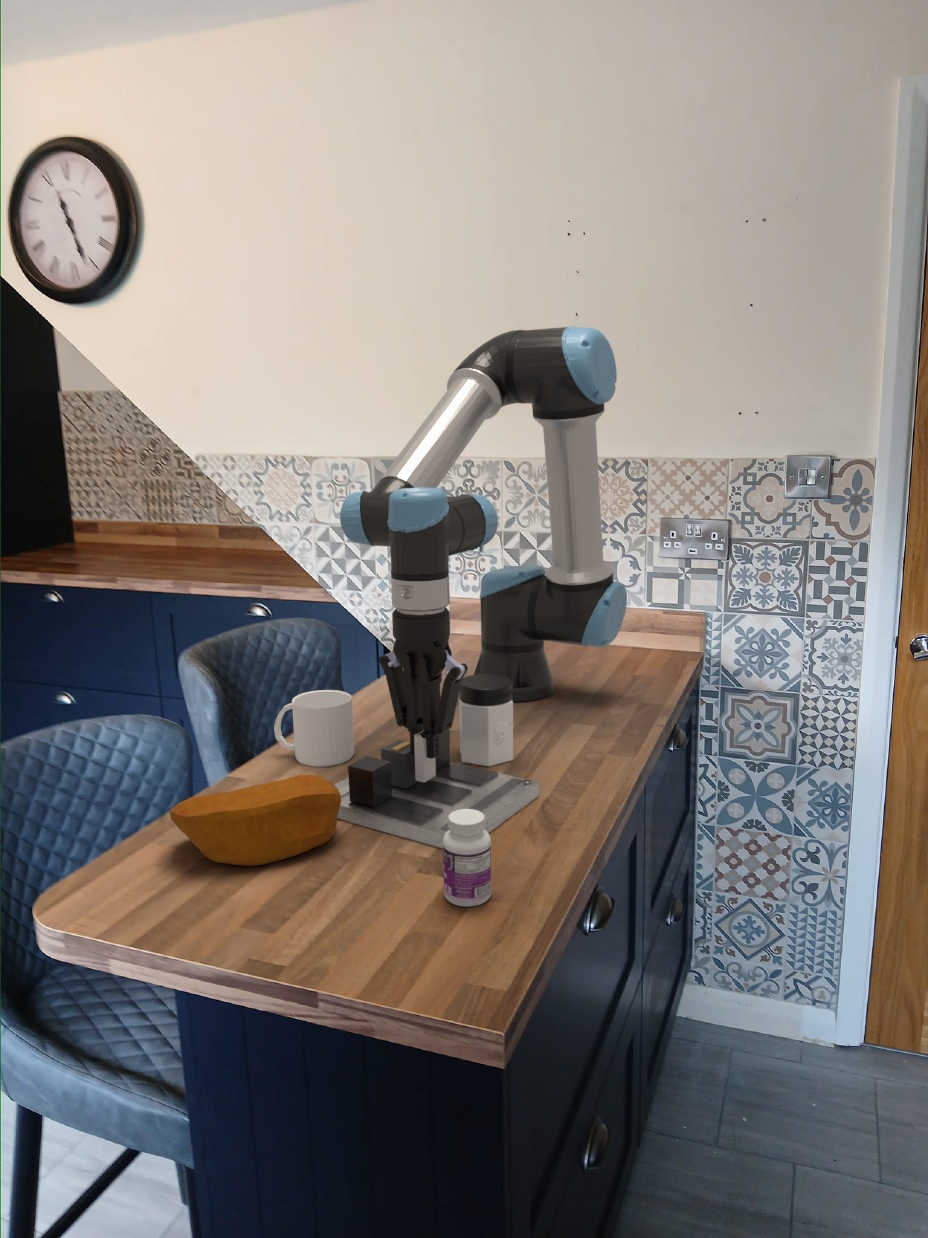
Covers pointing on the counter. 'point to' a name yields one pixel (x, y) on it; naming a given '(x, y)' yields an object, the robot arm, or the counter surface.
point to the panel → (429, 797)
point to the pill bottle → (467, 859)
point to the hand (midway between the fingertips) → (425, 778)
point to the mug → (320, 728)
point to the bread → (261, 820)
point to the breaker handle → (400, 763)
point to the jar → (486, 719)
